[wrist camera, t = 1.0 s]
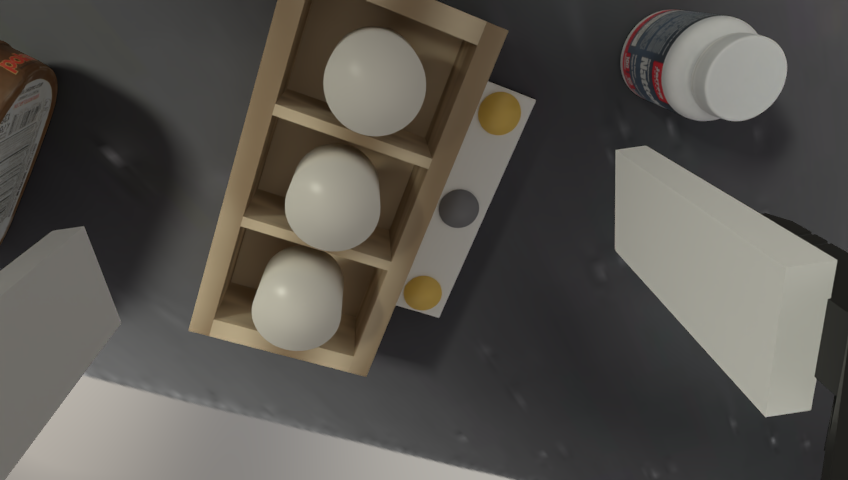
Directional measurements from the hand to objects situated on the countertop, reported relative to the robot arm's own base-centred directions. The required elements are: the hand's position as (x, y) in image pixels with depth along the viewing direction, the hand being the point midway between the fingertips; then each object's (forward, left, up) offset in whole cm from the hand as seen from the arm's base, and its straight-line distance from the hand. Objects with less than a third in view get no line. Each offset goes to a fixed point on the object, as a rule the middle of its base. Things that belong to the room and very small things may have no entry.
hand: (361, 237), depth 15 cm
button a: (0, -12, -19) cm, 22 cm away
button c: (0, +1, -19) cm, 19 cm away
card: (+8, -5, -22) cm, 24 cm away
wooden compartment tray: (0, -5, -22) cm, 23 cm away
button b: (0, -5, -19) cm, 19 cm away
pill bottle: (+16, +8, -22) cm, 29 cm away
